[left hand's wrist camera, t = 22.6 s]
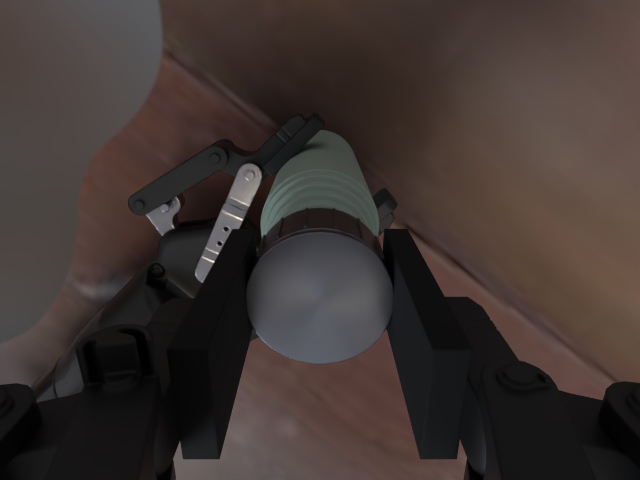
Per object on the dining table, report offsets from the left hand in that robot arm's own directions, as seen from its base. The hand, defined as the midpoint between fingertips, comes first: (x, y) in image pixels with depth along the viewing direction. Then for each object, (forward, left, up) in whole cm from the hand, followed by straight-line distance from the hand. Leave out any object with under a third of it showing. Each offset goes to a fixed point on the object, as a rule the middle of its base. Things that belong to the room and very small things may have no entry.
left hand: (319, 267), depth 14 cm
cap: (0, 0, +2) cm, 2 cm away
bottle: (0, 0, -16) cm, 16 cm away
